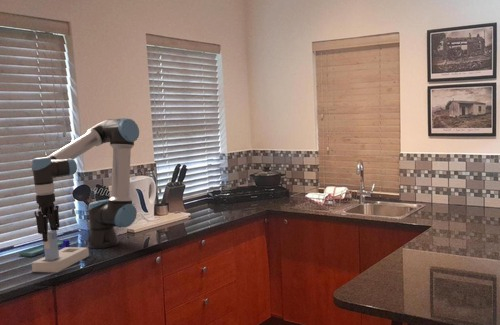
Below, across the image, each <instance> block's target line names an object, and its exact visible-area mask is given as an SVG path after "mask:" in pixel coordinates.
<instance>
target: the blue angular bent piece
mask: <svg viewBox="0 0 500 325" xmlns="http://www.w3.org/2000/svg"><path fill="white" fill-rule="evenodd" d="M62 240H63V245H62V246H61V247H59V248H58V250H61V249H63V248H65V247H71V246H70V245H71V244H70V242H69V240H70V239H62ZM42 245H43V244H42ZM43 250H44V245H43ZM43 255H44V256H45V252H44V253H43Z"/></svg>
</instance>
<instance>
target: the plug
mask: <svg viewBox="0 0 500 325" xmlns="http://www.w3.org/2000/svg"><path fill="white" fill-rule="evenodd" d="M56 231H57V230H51V229H48V233H49V236H50V245H51V248H50V249H44V252H45V255H44V257H45V260H54V259H56V258H58V257H59V251H58V250H59V247H58V242H57V240H58V233H56ZM42 242H43V241H42ZM42 244H44V242H43V243H42Z"/></svg>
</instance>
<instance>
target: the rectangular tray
mask: <svg viewBox="0 0 500 325" xmlns="http://www.w3.org/2000/svg"><path fill="white" fill-rule="evenodd" d="M63 240H64V239H57V242H58V248H61V247H62V245H63ZM68 240H69V243H70V242H71V240H70V239H68ZM43 245H44V243H42V244H40V245H37V246H34V247H31V248H28V249H25V250H22V251H21V250H20V251H18V254H19V255H20V256H21V257H30V258H33V257H36V256H38V255H41V254H44V250H43Z"/></svg>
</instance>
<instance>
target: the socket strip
mask: <svg viewBox="0 0 500 325" xmlns="http://www.w3.org/2000/svg"><path fill="white" fill-rule="evenodd" d="M58 251H59V257H58V258H56V259H54V260H45V256H44V257H41V258H38V259H37V260H34V261H32V262H31V269H32V270H31V271H32V272H33V273H56V274H57V273H59V272H61V271H63V270H65V269H66V268H68V267H71V266H72V265H74V264H76V263H78V262H80V261H82V260H84V259H87V258H88V257H89V256H90V255H89V254H90V252H89V247H74V246H72V247H71V246H70V247H65V248H63V249H61V250H59V249H58Z"/></svg>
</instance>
